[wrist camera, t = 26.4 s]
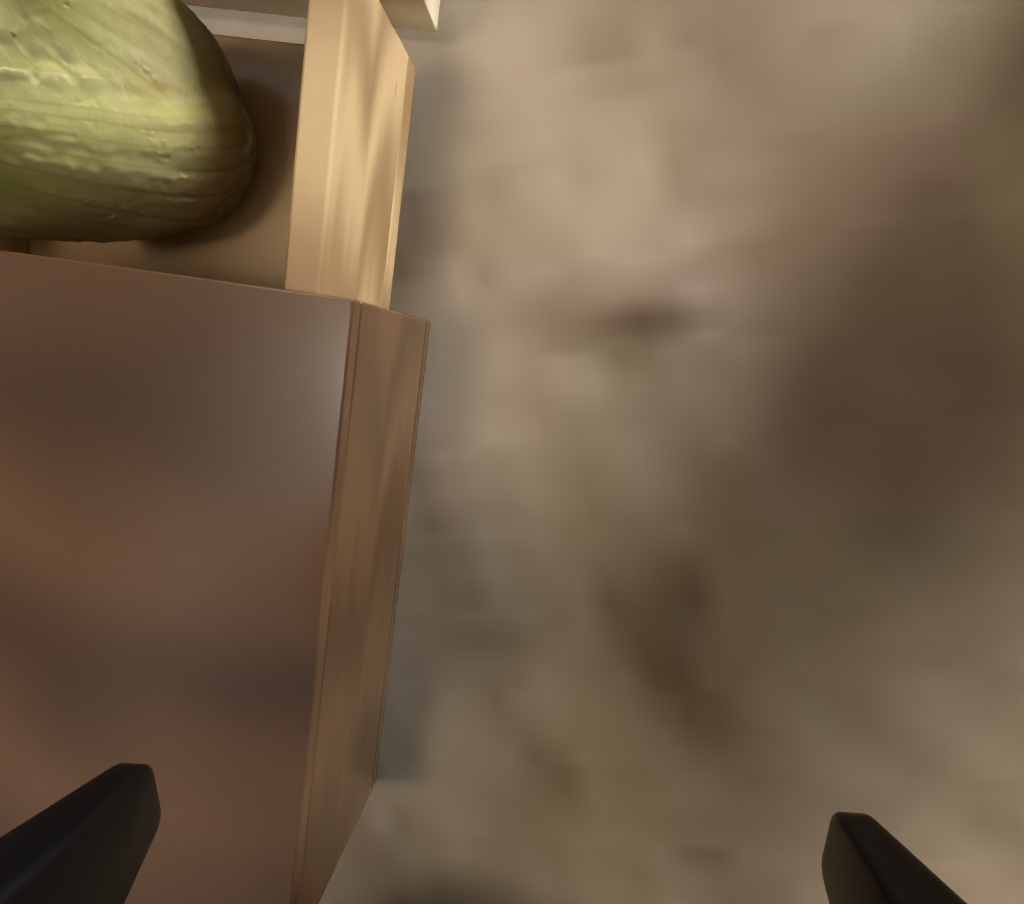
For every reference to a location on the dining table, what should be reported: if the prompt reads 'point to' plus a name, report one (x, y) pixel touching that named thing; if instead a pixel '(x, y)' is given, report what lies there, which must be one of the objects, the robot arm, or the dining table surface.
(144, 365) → the cabinet
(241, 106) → the fennel bulb
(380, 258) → the drawer
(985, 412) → the dining table surface
